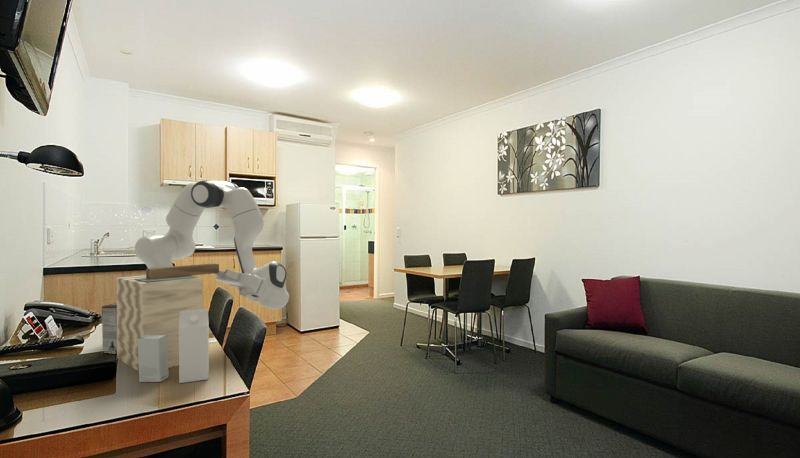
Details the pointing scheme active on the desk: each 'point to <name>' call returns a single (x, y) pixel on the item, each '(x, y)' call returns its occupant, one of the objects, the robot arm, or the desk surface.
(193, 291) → the birch stand
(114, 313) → the coffee box
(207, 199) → the robot arm
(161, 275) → the walnut bar
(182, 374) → the milk carton
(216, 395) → the desk surface
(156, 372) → the skincare box
